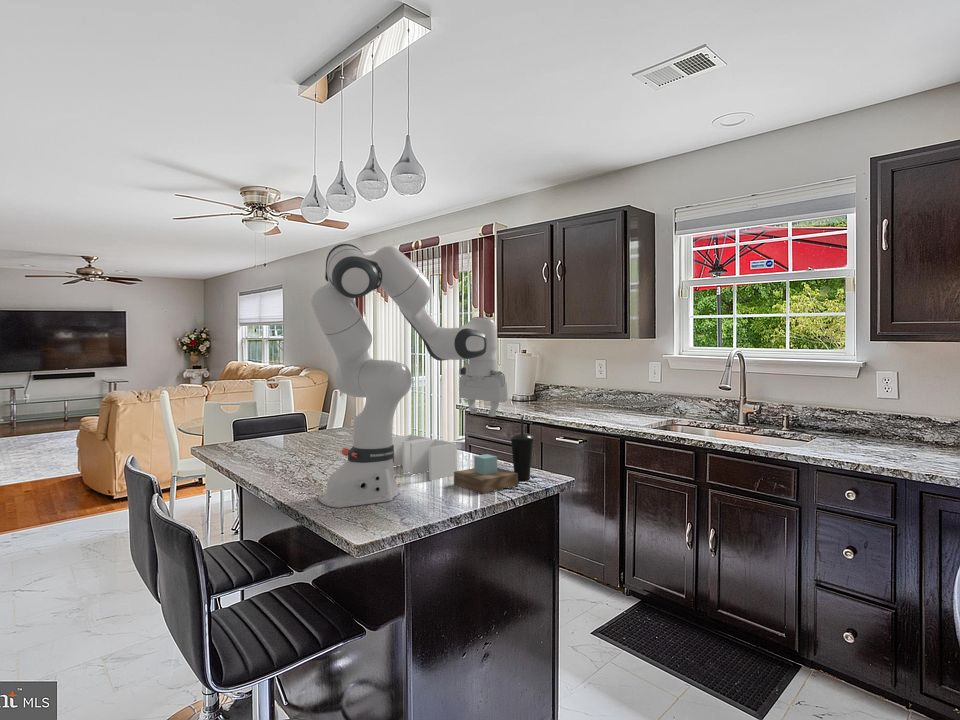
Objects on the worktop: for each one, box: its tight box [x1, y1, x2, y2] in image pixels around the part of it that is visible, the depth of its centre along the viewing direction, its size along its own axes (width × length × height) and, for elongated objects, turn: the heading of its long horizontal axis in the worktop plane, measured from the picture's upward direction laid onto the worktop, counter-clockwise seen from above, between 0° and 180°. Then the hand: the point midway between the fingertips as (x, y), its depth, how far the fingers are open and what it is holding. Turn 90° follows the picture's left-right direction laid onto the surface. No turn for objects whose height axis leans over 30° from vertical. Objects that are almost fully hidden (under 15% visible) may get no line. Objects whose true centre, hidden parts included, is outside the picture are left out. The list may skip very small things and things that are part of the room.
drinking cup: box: [509, 416, 535, 482], centre depth 179 cm, size 8×8×20 cm
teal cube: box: [473, 453, 498, 475], centre depth 171 cm, size 5×5×5 cm
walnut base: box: [453, 467, 519, 494], centre depth 171 cm, size 14×14×4 cm
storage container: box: [392, 434, 458, 482], centre depth 190 cm, size 25×11×11 cm, turn 45°
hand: (482, 415), depth 171 cm, fingers open, 8 cm apart
